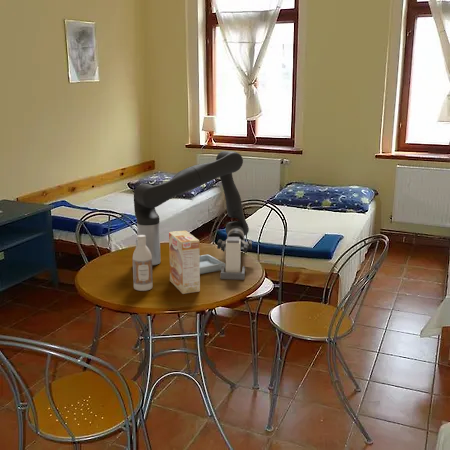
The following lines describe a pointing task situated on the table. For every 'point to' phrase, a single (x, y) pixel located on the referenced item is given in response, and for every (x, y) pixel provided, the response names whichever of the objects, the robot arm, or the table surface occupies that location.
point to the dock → (232, 274)
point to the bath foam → (142, 266)
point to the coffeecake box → (184, 261)
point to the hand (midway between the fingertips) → (234, 249)
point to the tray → (210, 264)
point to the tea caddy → (233, 254)
